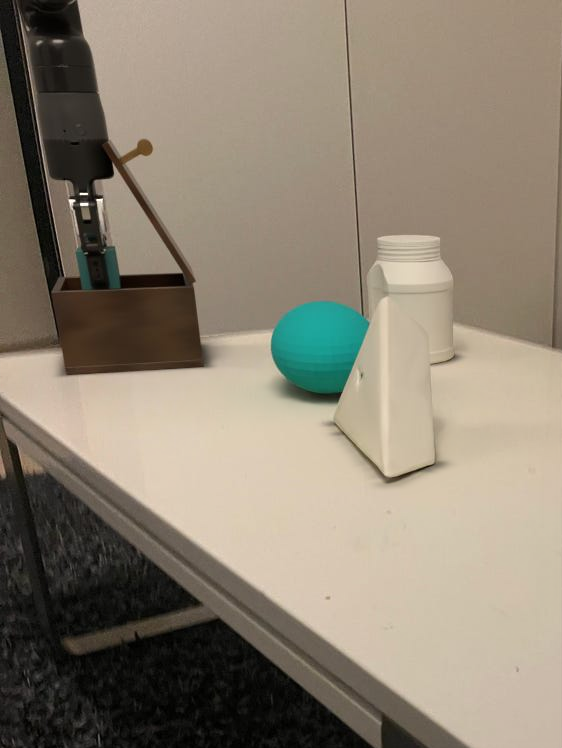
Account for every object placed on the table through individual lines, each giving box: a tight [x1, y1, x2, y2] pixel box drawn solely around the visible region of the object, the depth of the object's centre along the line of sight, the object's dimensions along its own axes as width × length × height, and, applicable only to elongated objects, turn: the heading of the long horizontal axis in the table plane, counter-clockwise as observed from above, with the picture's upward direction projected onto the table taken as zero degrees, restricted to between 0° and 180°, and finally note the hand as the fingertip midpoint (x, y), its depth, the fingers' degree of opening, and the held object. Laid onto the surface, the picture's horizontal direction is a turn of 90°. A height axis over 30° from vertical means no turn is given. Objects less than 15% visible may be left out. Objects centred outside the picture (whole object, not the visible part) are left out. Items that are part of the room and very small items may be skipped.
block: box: [75, 245, 121, 290], centre depth 126 cm, size 5×5×5 cm
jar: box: [366, 234, 455, 365], centre depth 132 cm, size 12×10×15 cm
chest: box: [50, 272, 205, 376], centre depth 130 cm, size 17×14×10 cm
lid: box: [102, 138, 197, 285], centre depth 125 cm, size 18×14×5 cm
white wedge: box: [332, 297, 436, 478], centre depth 95 cm, size 15×6×20 cm
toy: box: [270, 300, 370, 395], centre depth 116 cm, size 18×13×10 cm
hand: (101, 283), depth 127 cm, fingers closed on block, 4 cm apart
